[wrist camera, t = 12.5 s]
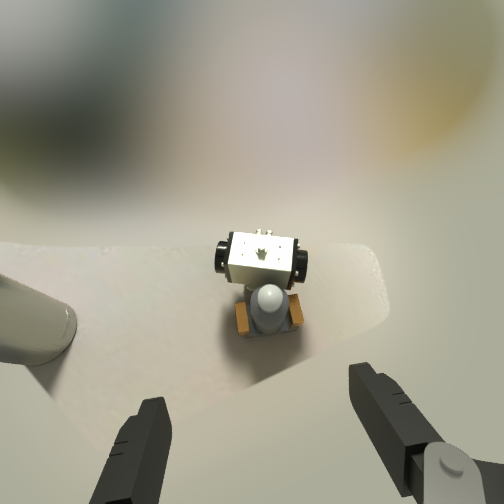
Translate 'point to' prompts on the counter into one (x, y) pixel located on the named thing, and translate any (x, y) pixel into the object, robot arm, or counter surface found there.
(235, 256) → the pneumatic valve
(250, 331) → the clip bracket
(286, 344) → the counter surface
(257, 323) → the bottle
